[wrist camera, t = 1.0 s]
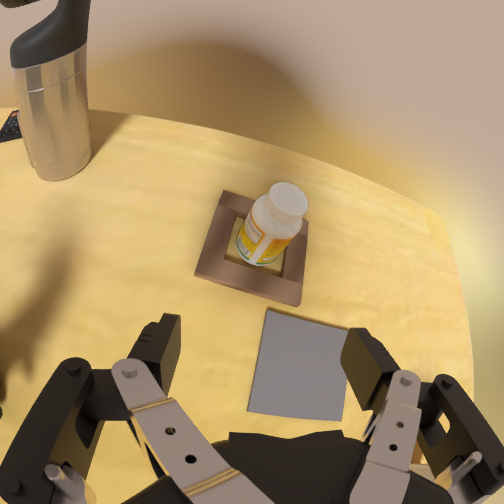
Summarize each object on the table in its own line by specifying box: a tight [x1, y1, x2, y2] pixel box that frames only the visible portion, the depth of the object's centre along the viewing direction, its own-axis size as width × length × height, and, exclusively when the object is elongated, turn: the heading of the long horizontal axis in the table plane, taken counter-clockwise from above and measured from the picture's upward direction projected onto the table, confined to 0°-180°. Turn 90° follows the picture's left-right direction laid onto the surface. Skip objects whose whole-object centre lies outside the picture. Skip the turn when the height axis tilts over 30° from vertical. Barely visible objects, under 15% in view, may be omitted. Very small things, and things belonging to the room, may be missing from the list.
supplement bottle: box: [236, 182, 308, 266], centre depth 29 cm, size 5×5×10 cm
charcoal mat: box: [247, 310, 348, 421], centre depth 27 cm, size 11×11×1 cm
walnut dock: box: [194, 190, 309, 307], centre depth 32 cm, size 12×12×1 cm
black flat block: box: [0, 110, 23, 143], centre depth 30 cm, size 9×12×3 cm
